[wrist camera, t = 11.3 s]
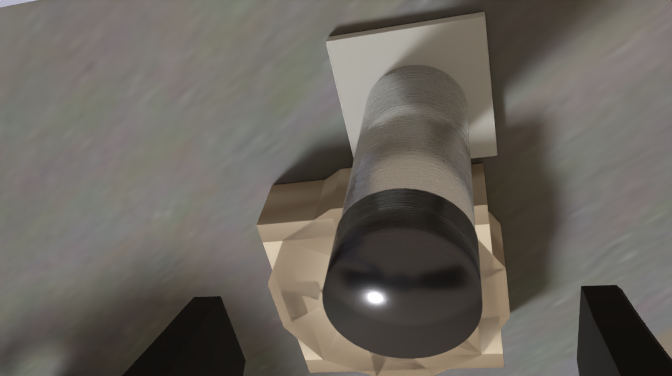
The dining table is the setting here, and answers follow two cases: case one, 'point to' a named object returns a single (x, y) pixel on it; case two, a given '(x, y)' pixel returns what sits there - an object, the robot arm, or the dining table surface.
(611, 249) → the dining table surface
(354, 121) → the rubber mat
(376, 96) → the salt shaker
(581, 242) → the dining table surface
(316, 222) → the socket block
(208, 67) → the dining table surface
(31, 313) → the dining table surface
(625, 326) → the robot arm
